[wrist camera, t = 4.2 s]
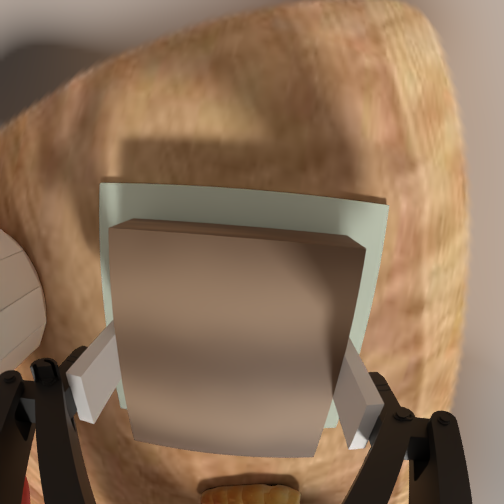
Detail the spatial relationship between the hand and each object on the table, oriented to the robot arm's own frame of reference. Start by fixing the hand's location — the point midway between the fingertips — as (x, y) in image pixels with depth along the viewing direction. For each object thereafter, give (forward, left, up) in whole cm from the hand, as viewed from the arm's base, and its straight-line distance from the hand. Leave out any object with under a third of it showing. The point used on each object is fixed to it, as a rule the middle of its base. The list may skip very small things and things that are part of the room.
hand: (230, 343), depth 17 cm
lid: (0, 0, 0) cm, 0 cm away
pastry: (-20, -3, -2) cm, 20 cm away
